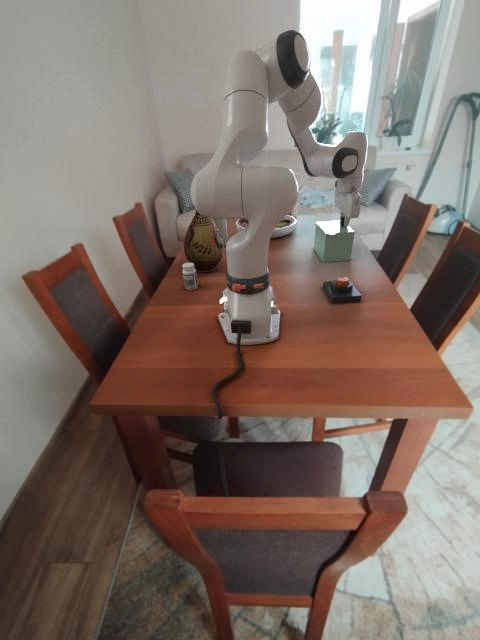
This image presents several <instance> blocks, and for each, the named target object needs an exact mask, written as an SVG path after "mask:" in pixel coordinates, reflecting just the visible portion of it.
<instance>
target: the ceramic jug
mask: <svg viewBox="0 0 480 640" xmlns="http://www.w3.org/2000/svg"><path fill="white" fill-rule="evenodd" d="M183 252H184V256H185V258H186V260H187V262H188V263H193V264H194V269H195V270H196V273H199V274H206V273H212V272H214V271H216V270H217V268H218V265H219V264H220V262H221V261H222V259H223V257H224V253H225V246H224V242H223V238H222V236H221V233H220V231H219V229H218V227H217V226H216V225H215V223H214V222H213V220H212V219H211V218H210V217H206V216H202V215H200V214H199V213H198V211H197V210H196V209H195V214H194V215H193V217H192V219H191V221H190V223H189V225H188V227H187V230H186V232H185V235H184V242H183Z"/></svg>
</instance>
